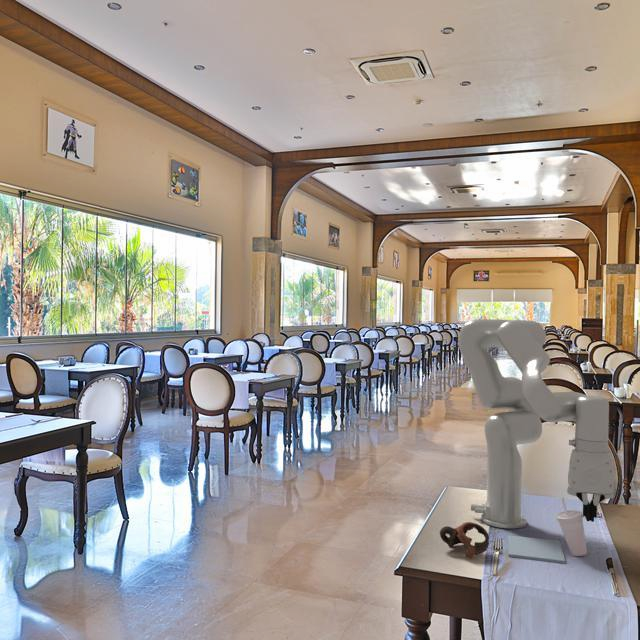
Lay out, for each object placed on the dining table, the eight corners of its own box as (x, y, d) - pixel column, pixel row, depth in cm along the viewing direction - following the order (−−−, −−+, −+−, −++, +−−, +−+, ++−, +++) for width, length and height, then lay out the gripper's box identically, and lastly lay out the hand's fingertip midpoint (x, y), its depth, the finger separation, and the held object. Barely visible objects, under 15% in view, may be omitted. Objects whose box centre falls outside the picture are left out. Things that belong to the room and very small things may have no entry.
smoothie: (561, 552, 154) (546, 498, 155) (584, 546, 155) (570, 491, 156) (573, 560, 148) (558, 503, 149) (597, 553, 149) (582, 496, 150)
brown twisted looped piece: (479, 546, 158) (490, 523, 154) (482, 575, 149) (493, 552, 146) (434, 532, 158) (444, 510, 154) (434, 561, 150) (445, 538, 146)
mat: (508, 556, 150) (508, 553, 150) (507, 537, 163) (507, 535, 163) (565, 563, 146) (565, 560, 146) (559, 543, 159) (559, 541, 159)
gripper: (560, 446, 149) (559, 521, 149) (627, 451, 145) (625, 528, 145) (557, 440, 157) (555, 512, 157) (621, 445, 152) (619, 518, 152)
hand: (589, 519), depth 151 cm, fingers closed
